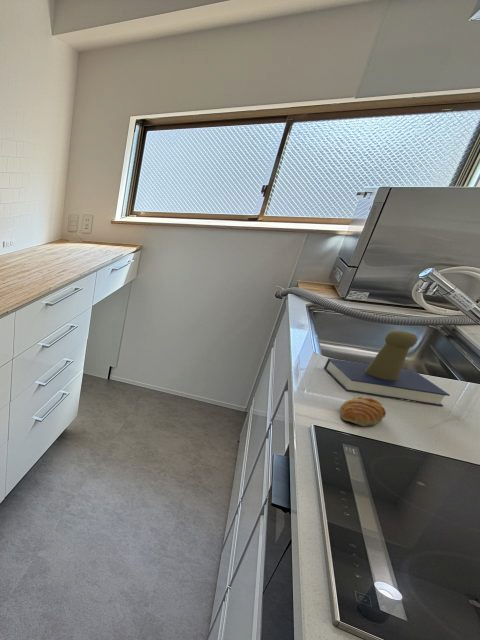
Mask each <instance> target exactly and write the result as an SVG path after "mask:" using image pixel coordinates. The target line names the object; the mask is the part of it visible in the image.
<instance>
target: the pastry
mask: <svg viewBox="0 0 480 640" xmlns="http://www.w3.org/2000/svg"><path fill="white" fill-rule="evenodd" d="M386 414H387V411H386V409H385V407H384V406H383V404H382V402H380V401H379V400H377V399H374V398H371V397H362V396H358V397H353V398H352V399H348V400H346V401H344V402H343V404H341V406H340V418H342V420H343V421H346V422H350V423H353V424H356V425H358V426H362V427H367V426H371V427H372V426H375V425H376V424H378V423H380V422H381V421H382V420H383V419H384V418H385V417H386Z"/></svg>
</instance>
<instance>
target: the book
mask: <svg viewBox="0 0 480 640" xmlns="http://www.w3.org/2000/svg"><path fill="white" fill-rule="evenodd" d="M325 362H326V363H325V365H324V366H323V369H324V370H325V371H326V372H327V373H328V374H329V375H330V376H331V378H333V379H334V380H335V382H337V383H338V385H339V386H341V387H342V389H344V390H345V391H346V392H349V393H350V392H351V393H357V394H362V395H368V396H375V397H381V398H387V397H388V398H387V399H393V398H395V399H394V400H399V399H403V400H402V401H406V400H410V401H409V402H412V401H416V402H415V403H418V402H420V403H419V404H425V405H430V406H431V405H432V406H437V407H444V405H443V403H441V402H442V401H443V399H444V397H445V396H447V397H450V396H451V394H450V393H448V392H446V391H445V390H444V389H442V388H440V387H439V386H438V385H436V384H435V383H433V382H432V381H430V380H429V379H427V378H426V377H424V376H423V375H422V374H420V373H418V372H417V371H416V370H413V369H406V368H402V369H401V372H400V375H399V378H398V380H386V379H381V378H377V377H374V376H372V375H369V374H368V373H366V372H365V370H366V369H367V367H368V366H369V365H370V363H364V362H359V361H351V360H345V359H338V358H330V357H328V358H327V361H325Z"/></svg>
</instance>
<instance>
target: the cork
mask: <svg viewBox="0 0 480 640" xmlns="http://www.w3.org/2000/svg"><path fill="white" fill-rule="evenodd" d="M384 341H385V343H384V344H383V346H382V347H381V349H380V350H379V351H378V352H377V354H376V355H375V357H374V358H373V359H372V361H371V362H370V363H369V364H370V365H369V366H368V367H367V369H366V370H365V372H366V373H368V374H369V375H372V376H374V377H377V378H381V379H386V380H398V378H399V375H400V372H401V369H403V366H404V364H405V361H406V358H407V356H408V352H409V350H410V348H413V347H414V346H415V345H416V344H417V343H418V336H417V335H416V334H415V333H413V332H410V331H406V330H398V329H396V330H394V329H393V330H391V331H389V332H388V333H386V335H385V338H384Z"/></svg>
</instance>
